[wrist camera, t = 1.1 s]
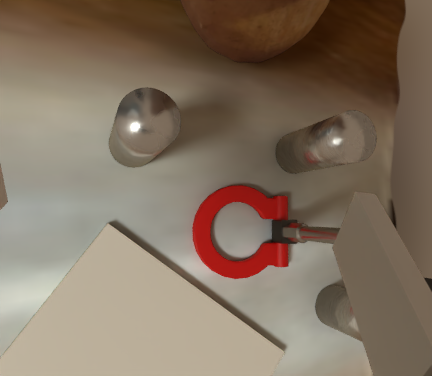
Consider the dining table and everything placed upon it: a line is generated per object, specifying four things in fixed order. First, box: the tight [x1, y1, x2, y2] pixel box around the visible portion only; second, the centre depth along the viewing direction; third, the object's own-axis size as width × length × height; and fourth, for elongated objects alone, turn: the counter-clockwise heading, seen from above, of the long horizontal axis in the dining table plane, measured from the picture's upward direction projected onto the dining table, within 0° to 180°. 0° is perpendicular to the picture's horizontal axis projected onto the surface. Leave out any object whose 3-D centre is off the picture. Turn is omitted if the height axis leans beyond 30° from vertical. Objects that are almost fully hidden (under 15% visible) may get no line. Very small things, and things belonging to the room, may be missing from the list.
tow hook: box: [192, 185, 340, 279], centre depth 29 cm, size 8×13×9 cm
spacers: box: [109, 88, 376, 342], centre depth 30 cm, size 23×20×9 cm
